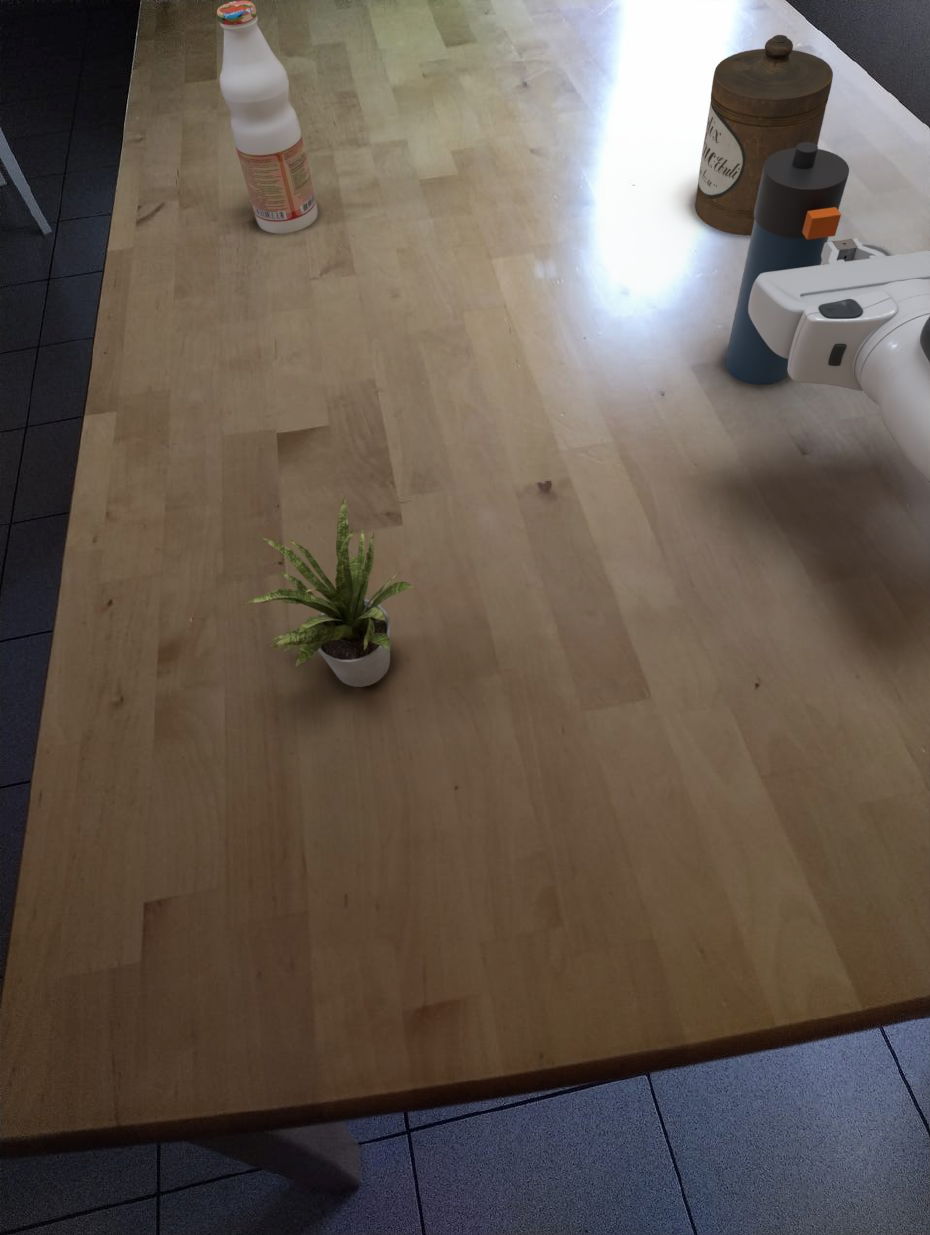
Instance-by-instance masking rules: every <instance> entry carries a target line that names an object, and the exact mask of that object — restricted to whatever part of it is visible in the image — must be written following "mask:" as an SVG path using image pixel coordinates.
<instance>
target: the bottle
mask: <svg viewBox="0 0 930 1235" xmlns="http://www.w3.org/2000/svg"><path fill="white" fill-rule="evenodd" d="M849 174H850V167H849V164H848V163H847V162H846V160H845V159H844V158H842V157H841V156H839V155H838V154H836V153H834V152H831V151H829V150H826V149H821V148H819V146H817V145H816V144H814V143H811V142H802V143H799V144H798V145H797V147H796V148H791V149H785V150H782V151H779V152H776V153H774V154H773V155H771V156H770V157H769V158H768V159H767V160H766V161H765V163H764V167H763V171H762V176H761V181H760V186H759V191H758V196H757V201H756V205H755V210H754V219H755V220H754V225H753V230H752V234H751V235H750V240H749V245H748V250H747V255H746V258H745V263H744V267H743V268H744V269H743V274H742V278H741V282H740V288H739V292H738V297H737V302H736V306H735V311H734V316H733V321H732V327H731V331H730V335H729V340H728V346H727V350H726V355H725V359H724V365H725V367H726V370H727V372H728V373H729V374H730V375H731V376H732V377H733V378H735V379H736V380H738V381H740V382H742V383H746V384H749V385H755V386H766V385H767V386H768V385H773V384H777V383H779V382H781V381H783V380H785V379H786V378H787V377H788V376H789V374H788V371H787V368H788V360H789V359H786V358H783V357H781V356H779V355H777V354H776V353H775V352H773V351H772V350H771V349H770V348H769V346H768V345H767V344H766V342H765V341H764V340H763V338H762V337H761V335H760V334H759V332H758V331H757V329H756V327H755V326H754V324H753V322H752V320H751V318H750V316H749V312H748V305H749V299H750V294H751V290H752V287H753V284H754V282H755V280H756V279H757V277H758V276H759V275H760V274H761V273H764V272H772V271H780V270H787V269H795V268H802V267H810V266H817V265H822V262H823V261H822V259H821V254H822V250H823V247H824V244H825V242H828V240H829V237H823V238H816V239H809V240H807V239H806V237H805V236H804V234H803V233H802V231H803V227H804V223H805V219H806V215H807V211H811V210H818V209H826V208H833V207H836V208H837V209H838V210H839V209H840V205H841V202H842V199H843V195H844V193H845V192H844V191H845V188H846V185H847V181H848V178H849Z"/></svg>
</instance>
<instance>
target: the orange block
mask: <svg viewBox="0 0 930 1235" xmlns="http://www.w3.org/2000/svg"><path fill="white" fill-rule="evenodd" d="M841 217H842V213H841V212H840V211H839V209H837V208H836V207H833V208H826V209H818V210H811V211H807V215H806V219H805V223H804V227H803V231H802V233H803V234H804V236H805V237H806V239H807V240H809V239H816V238H823V237H828V238H831V237H835V236H836V234H837V230H838V227H839V223H840V220H841Z"/></svg>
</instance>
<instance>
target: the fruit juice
mask: <svg viewBox="0 0 930 1235" xmlns="http://www.w3.org/2000/svg"><path fill="white" fill-rule="evenodd" d="M216 15H217V20H218V22H219V25H220V27H221V28H222V29H223V49H222V50H223V53H222V66H221V70H220V75H219V87H220V92H221V96H222V98H223V100H224V102H225V104H226V105H227V108H228V109H229V112H230V130H231V134H232V140H233V143H234V148H235V150H236V153H237V157H238V160H239V165H240V167H241V171H242V174H243V178H244V181H245V185H246V188H247V192H248V195H249V200H250V203H251V207H252V210H253V214H254V217H255V220H256V223H257V225H258V227H259V228H260V229H261V230H263V231H265V232H267V233H271V234H291V233H294V232H299V231H301V230H303V229H305V228H307V227H309V226H310V225H311V224H313V223H314V222H315V221H316V219H317V217H318V215H319V211H318V210H319V209H318V205H317V203H318V202H317V198H316V195H315V190H314V185H313V181H312V176H311V172H310V167H309V162H308V157H307V153H306V149H305V143H304V140H303V134H302V129H301V125H300V122H299V119H298V114H297V113H296V110H295V108H294V107H293V105H292V104H291V102H290V81H289V77H288V73H287V71H286V68H285V67H284V65H283V63H282V62H280V60H279V59H278V58H277V56H276V55H275V54H274V52H273V51H272V49H271V47H270V45H269V43H268V41H267V40H266V38H265V35H264V34H263V32H262V31H261V29H260V27H259V26H258V23H257V22H258V21H259V20H258V19H259V18H258V12H257V8H256V5H255V4H254V2H252V1H249V0H234V1H230V2H226V3H224V4H222V5H220V6H219V7H218V8H217V10H216Z"/></svg>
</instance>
